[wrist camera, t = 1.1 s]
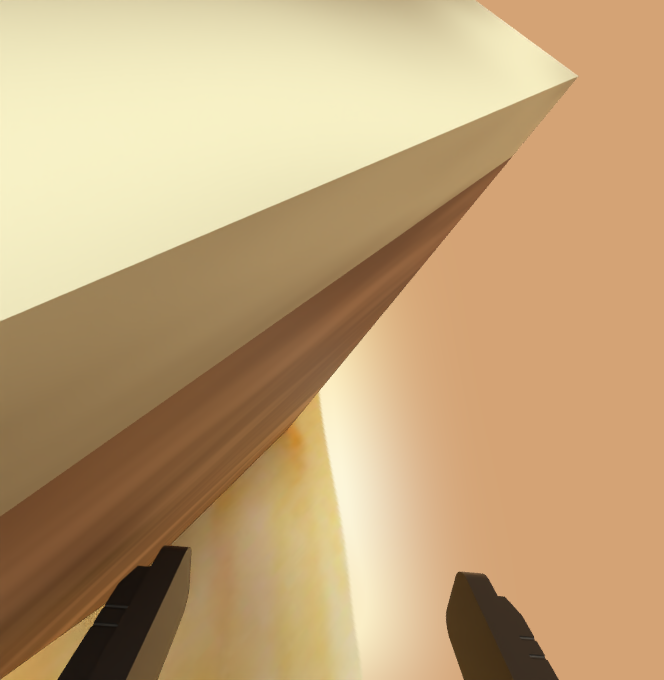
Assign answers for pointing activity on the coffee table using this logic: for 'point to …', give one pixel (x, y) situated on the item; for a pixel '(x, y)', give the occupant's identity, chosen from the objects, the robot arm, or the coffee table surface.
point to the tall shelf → (210, 246)
